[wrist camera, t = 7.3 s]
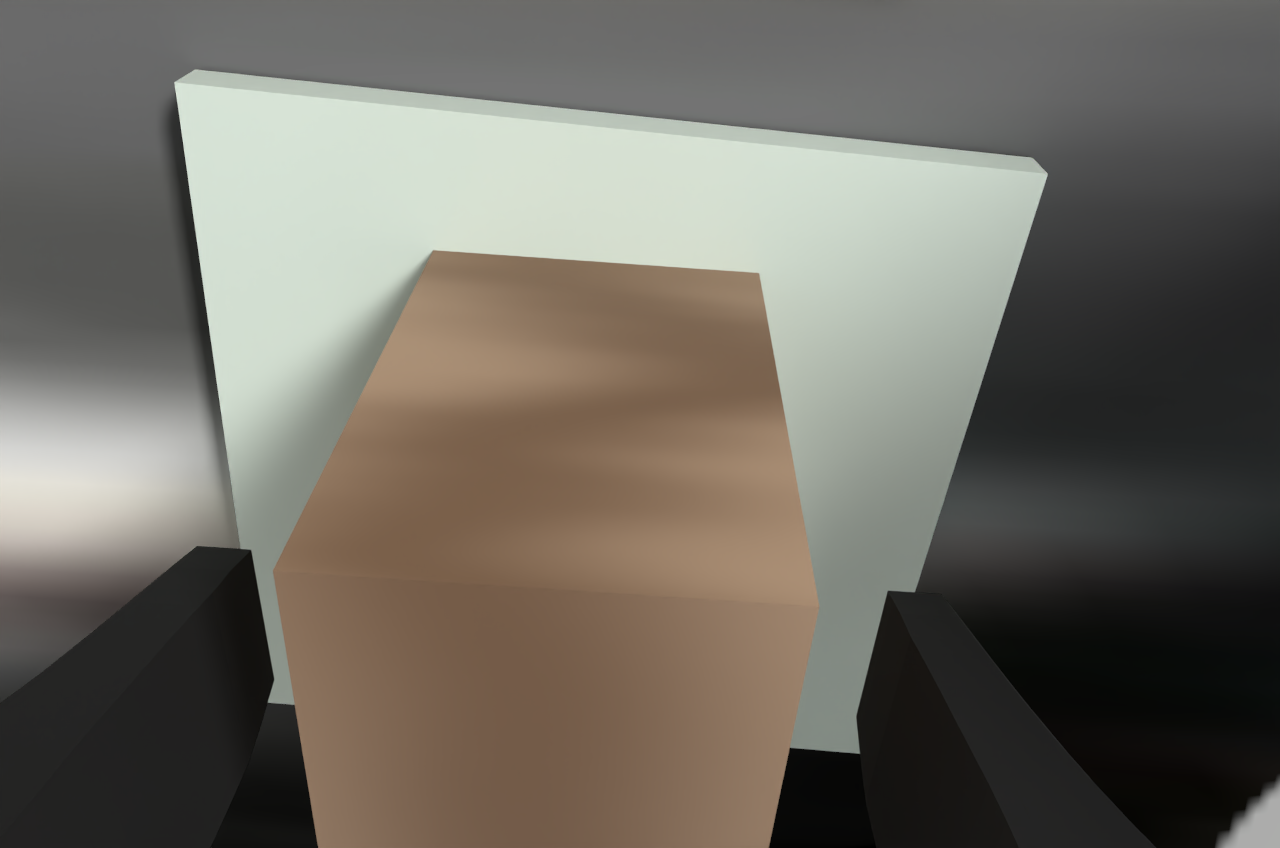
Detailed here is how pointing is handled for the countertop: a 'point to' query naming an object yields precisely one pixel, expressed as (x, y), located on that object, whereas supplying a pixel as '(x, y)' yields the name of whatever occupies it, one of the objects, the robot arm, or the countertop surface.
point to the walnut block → (555, 568)
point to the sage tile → (616, 233)
